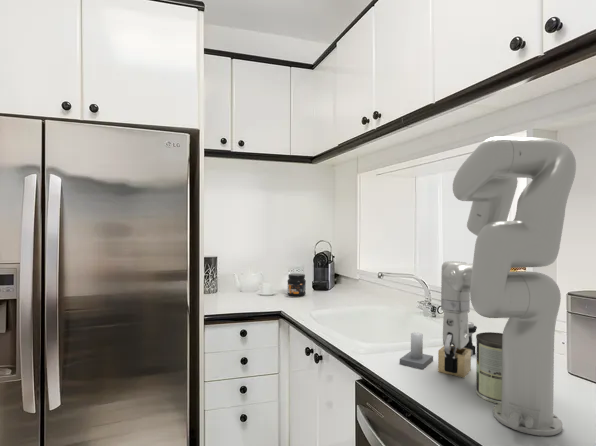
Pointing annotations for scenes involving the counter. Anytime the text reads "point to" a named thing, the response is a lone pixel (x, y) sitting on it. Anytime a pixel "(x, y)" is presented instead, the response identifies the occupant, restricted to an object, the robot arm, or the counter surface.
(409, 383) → the counter surface
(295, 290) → the supplement container
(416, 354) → the piston block
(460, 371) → the collar
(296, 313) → the counter surface
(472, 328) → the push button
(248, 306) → the counter surface
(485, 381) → the coffee can
